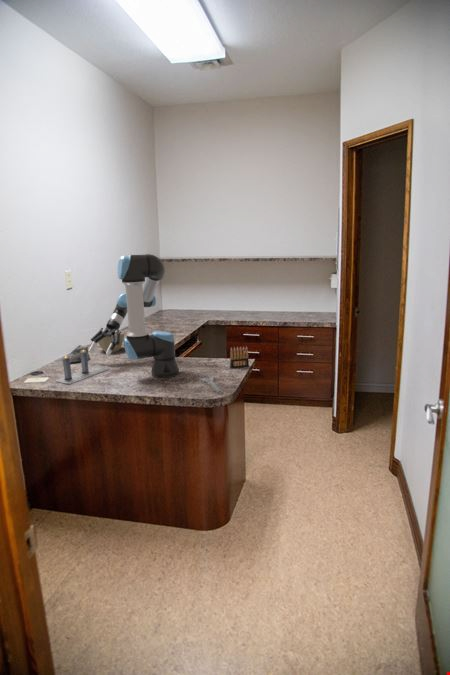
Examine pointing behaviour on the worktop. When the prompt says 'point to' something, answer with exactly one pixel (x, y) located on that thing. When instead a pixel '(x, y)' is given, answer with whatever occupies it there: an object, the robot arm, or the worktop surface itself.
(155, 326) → the worktop surface
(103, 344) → the flower pot
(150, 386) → the worktop surface
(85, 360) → the leg
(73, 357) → the mineral rock
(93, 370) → the bolt plate
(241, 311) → the worktop surface
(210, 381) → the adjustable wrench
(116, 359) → the worktop surface
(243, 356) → the ammunition clip
